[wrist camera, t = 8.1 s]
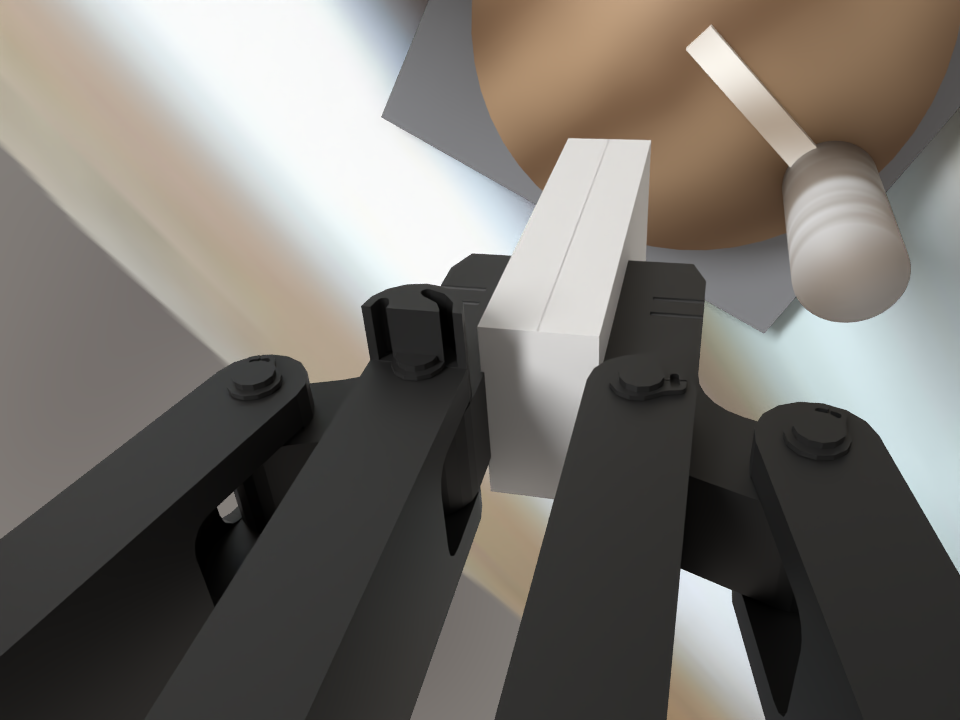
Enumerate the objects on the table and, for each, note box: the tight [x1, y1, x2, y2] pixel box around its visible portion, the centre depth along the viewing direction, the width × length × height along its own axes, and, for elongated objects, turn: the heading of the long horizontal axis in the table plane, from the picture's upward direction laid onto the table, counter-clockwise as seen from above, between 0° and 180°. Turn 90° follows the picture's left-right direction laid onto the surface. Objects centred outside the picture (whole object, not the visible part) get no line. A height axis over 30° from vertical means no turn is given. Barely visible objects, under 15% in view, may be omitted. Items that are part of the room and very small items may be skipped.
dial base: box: [381, 0, 960, 333], centre depth 35 cm, size 21×21×1 cm
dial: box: [471, 0, 960, 323], centre depth 30 cm, size 19×18×10 cm
